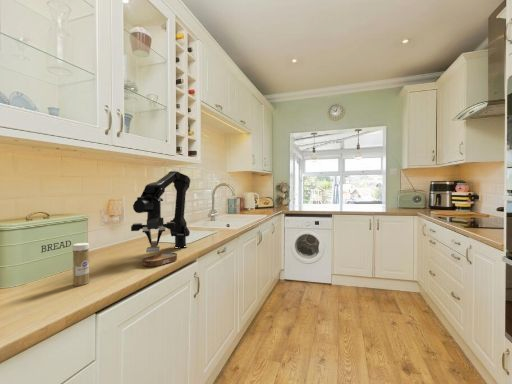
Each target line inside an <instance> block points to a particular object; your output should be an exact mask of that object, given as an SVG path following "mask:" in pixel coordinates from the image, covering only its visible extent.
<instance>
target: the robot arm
mask: <svg viewBox="0 0 512 384" xmlns="http://www.w3.org/2000/svg"><path fill="white" fill-rule="evenodd" d="M171 184H173V187H174V188H175V190H176V195H175V207H174V217H173V219H172V220H171V219H170V221H166V223H164V217H162V212H161V210H162V207H161V206H162V205H161V202H164V199H163V198H162V196H163V194H164V193H165V191H166V188H167V187H169V186H170V185H171ZM190 184H191V178H190V177H189V176H188V175H187V174H184V173H181V172H179V171H176V170H175V171H174V170H172V171H169V172H168V173H167V174H165V175H164V176H163V177H161V178H160V179H159V180H156V181H154V182H150V183H148V184H146V185H145V186H144V189H143V191H142V193H141V196H138V197H136V200H135V202H134V203H133V204H132V208H133V211H134V212H135V213H136V214H143V213H147V219H146V224H143V223H142V222H137V223H133V224H132V225H131V226H130V231H131V232H139V231H140V230H141V231H142V233H144V234H145V235H146V238H147V239H148V241H149V244H150V246H151V243H152V241H153V240H152V231H151V230H158V231H157V239H156V241H157V245H159V244H160V243H159V242H160V239H161V236H162V234H163V232H166V229H167V230H169V231H170V236H171V237H174V245H175V247H184V246H186V245H187V239H186V238H187V237H189V236H190V235H191V234H190V230H189V228H188V227H187V221H186V220H185V210H186V209H185V207H186V197H187V196H186V193H187V191H188V189H190Z"/></svg>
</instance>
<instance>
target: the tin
mask: <svg viewBox="0 0 512 384" xmlns="http://www.w3.org/2000/svg"><path fill="white" fill-rule="evenodd" d="M175 260H176V261H177V260H178V253H176V252H163V253H158V254H155V255H150V256H146V257H144V258H142V265H143V266H144V267H147V268H154V267H155V266H156V267H159V265H160V266H164V265H167V264H170V263H169V262H171V263H173V261H174V262H176V261H175ZM166 263H167V264H166ZM163 264H164V265H163Z"/></svg>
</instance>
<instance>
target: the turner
mask: <svg viewBox="0 0 512 384" xmlns="http://www.w3.org/2000/svg"><path fill="white" fill-rule="evenodd" d="M158 245H159V244H158ZM158 245H157V240H152V243H151V245H150V246H149V247H147V248H146V249H145V251H146V252H145V253H153V252H154V253H155V252H160V247H161V246H158Z"/></svg>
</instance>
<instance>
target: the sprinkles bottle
mask: <svg viewBox="0 0 512 384" xmlns="http://www.w3.org/2000/svg"><path fill="white" fill-rule="evenodd" d="M89 249H90V244H89V243H88V242H80V243H79V242H78V243H74V244H72V275H73V277H72V279H73V282H72V285H73V286H75V287H79V286H84V285H87V284H88V283H90V280H89V279H90V275H89V274H90V263H89V261H90V260H89V259H90V258H89Z"/></svg>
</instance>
